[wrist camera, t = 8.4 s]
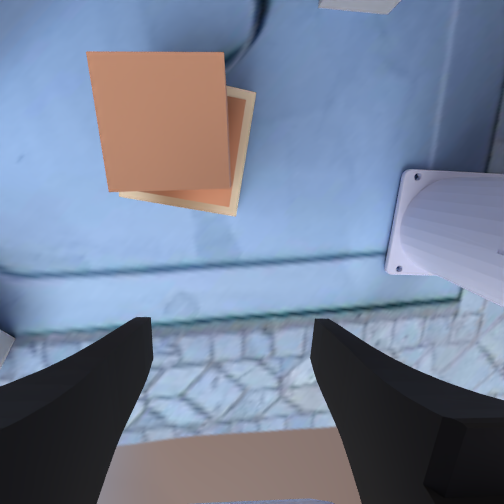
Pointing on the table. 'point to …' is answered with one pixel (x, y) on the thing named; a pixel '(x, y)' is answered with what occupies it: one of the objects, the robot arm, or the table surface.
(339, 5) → the grey block
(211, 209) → the maple base
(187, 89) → the terracotta block
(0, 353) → the die
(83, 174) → the table surface
